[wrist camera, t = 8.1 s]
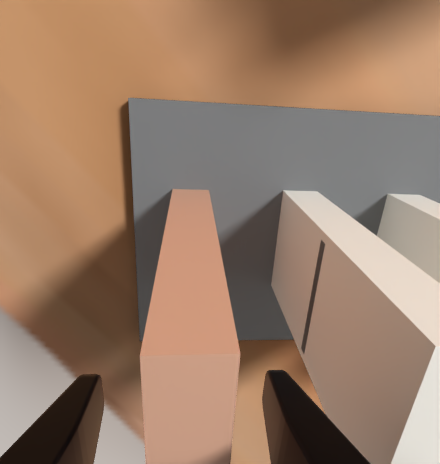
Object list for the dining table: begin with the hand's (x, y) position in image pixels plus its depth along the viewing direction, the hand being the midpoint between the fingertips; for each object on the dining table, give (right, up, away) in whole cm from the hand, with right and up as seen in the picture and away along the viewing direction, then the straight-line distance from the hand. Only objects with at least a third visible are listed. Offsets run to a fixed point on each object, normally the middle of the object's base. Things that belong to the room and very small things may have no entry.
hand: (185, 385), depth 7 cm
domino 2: (+4, +3, +8) cm, 10 cm away
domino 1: (-1, +3, +8) cm, 9 cm away
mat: (+10, +3, +9) cm, 14 cm away
